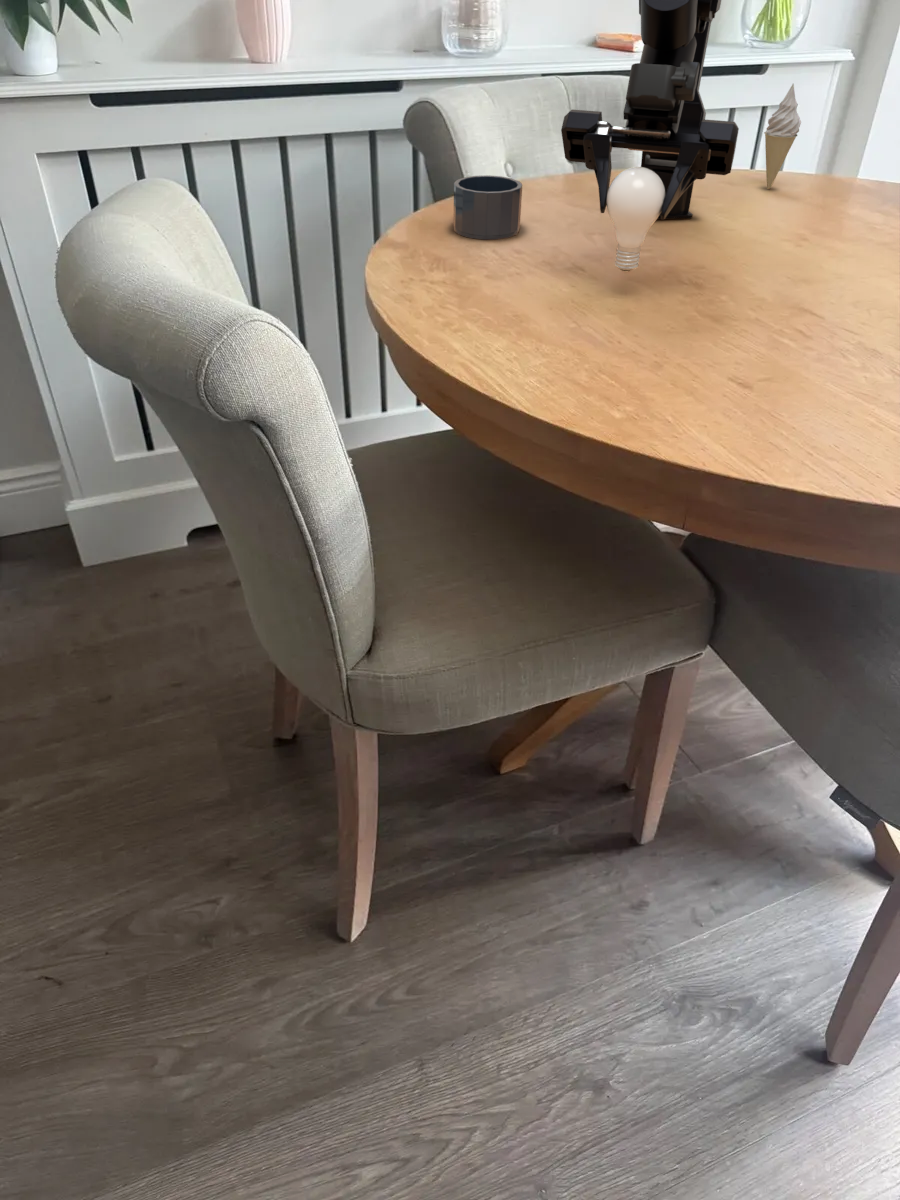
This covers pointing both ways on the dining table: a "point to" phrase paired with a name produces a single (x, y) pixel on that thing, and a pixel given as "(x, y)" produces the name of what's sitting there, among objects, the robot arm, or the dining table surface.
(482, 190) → the tube
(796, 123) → the ice cream cone
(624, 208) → the lightbulb
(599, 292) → the dining table surface
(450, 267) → the dining table surface
